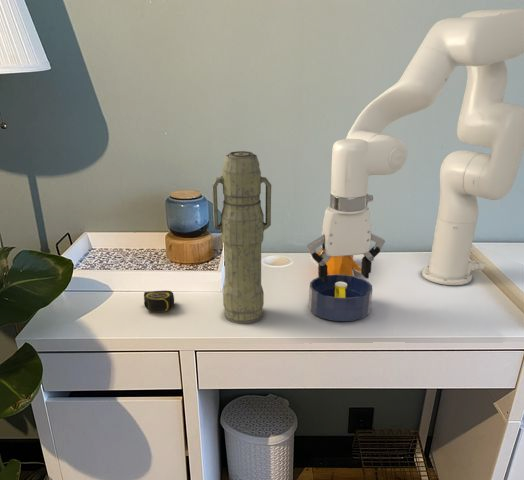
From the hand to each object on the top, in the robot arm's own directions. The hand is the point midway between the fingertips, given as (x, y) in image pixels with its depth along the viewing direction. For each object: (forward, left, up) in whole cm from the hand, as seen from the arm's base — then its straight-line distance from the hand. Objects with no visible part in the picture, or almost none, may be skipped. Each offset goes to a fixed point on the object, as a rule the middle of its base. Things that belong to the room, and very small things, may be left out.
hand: (344, 278), depth 125 cm
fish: (-4, -19, -8) cm, 21 cm away
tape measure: (+42, -8, -8) cm, 43 cm away
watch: (+1, 0, -7) cm, 7 cm away
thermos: (+23, -1, -8) cm, 24 cm away
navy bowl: (+1, 0, -8) cm, 8 cm away
